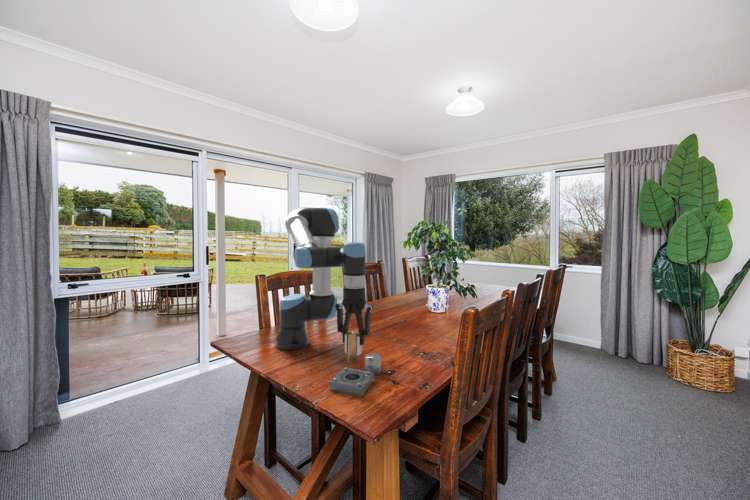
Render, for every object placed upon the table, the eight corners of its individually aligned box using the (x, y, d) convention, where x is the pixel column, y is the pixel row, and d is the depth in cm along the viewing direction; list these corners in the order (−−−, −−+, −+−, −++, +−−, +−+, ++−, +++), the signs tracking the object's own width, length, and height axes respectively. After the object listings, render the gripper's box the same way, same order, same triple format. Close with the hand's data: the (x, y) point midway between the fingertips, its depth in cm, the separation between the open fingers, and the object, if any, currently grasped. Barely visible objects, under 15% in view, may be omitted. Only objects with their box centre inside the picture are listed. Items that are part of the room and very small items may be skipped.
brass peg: (345, 359, 114) (346, 331, 113) (356, 357, 116) (356, 330, 115) (349, 363, 111) (350, 335, 110) (360, 361, 112) (360, 333, 112)
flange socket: (329, 389, 110) (329, 379, 110) (344, 374, 122) (344, 365, 122) (362, 396, 107) (362, 386, 106) (373, 380, 118) (374, 370, 118)
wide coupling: (362, 373, 123) (362, 358, 123) (367, 366, 130) (368, 352, 129) (377, 376, 121) (378, 360, 121) (382, 369, 127) (383, 354, 127)
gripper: (327, 286, 111) (326, 353, 112) (373, 290, 105) (372, 360, 107) (336, 283, 118) (336, 346, 119) (380, 286, 112) (379, 352, 114)
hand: (353, 352), depth 113 cm, fingers closed on brass peg, 4 cm apart
